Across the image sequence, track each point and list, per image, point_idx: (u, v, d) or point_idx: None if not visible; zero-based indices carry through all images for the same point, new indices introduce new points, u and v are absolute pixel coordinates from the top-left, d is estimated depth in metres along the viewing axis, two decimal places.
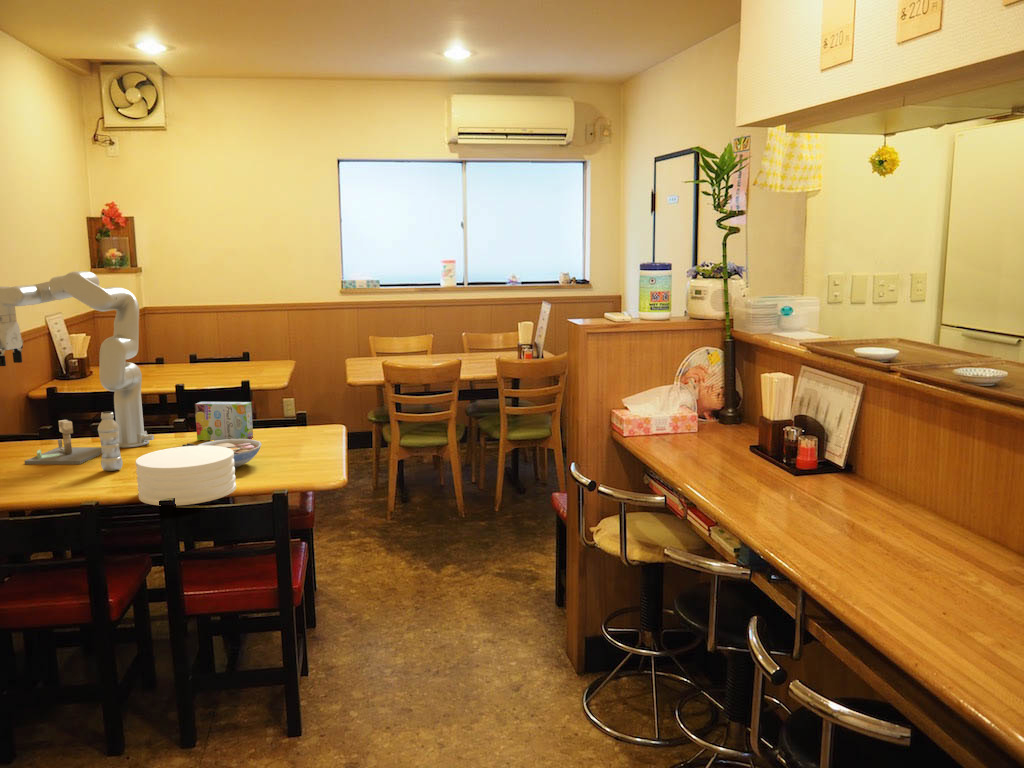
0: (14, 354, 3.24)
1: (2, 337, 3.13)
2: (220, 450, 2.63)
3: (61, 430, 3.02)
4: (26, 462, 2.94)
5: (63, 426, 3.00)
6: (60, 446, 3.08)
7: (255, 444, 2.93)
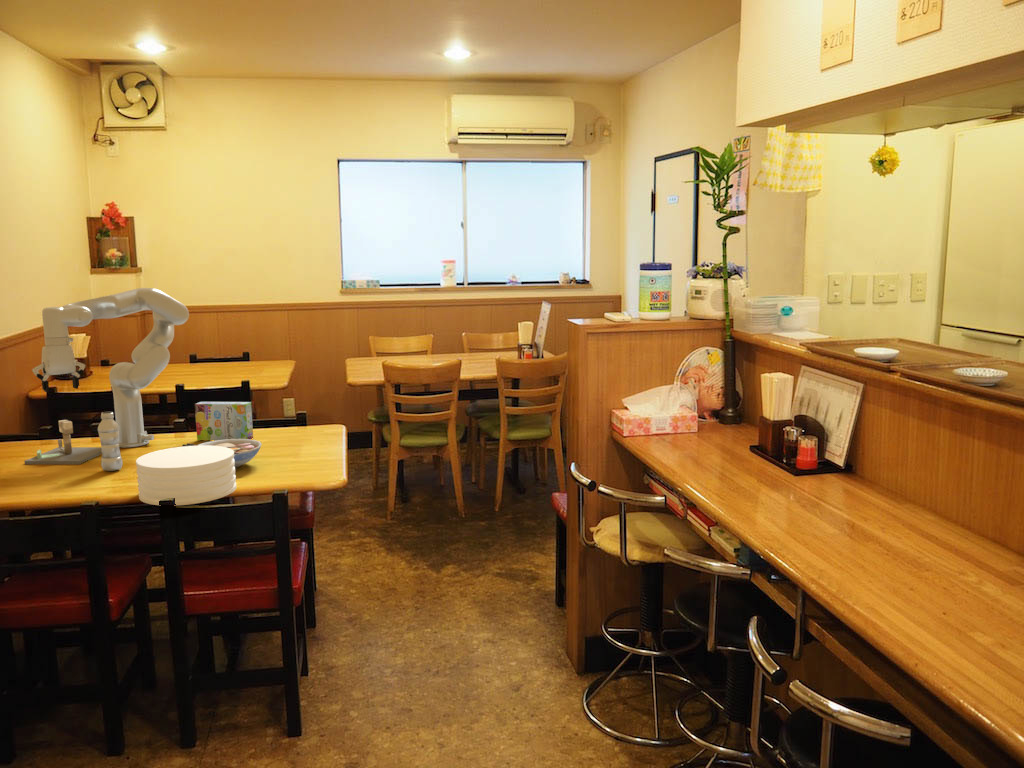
0: None
1: None
2: (220, 450, 2.63)
3: (61, 430, 3.02)
4: (26, 462, 2.94)
5: (63, 426, 3.00)
6: (60, 446, 3.08)
7: (255, 444, 2.93)
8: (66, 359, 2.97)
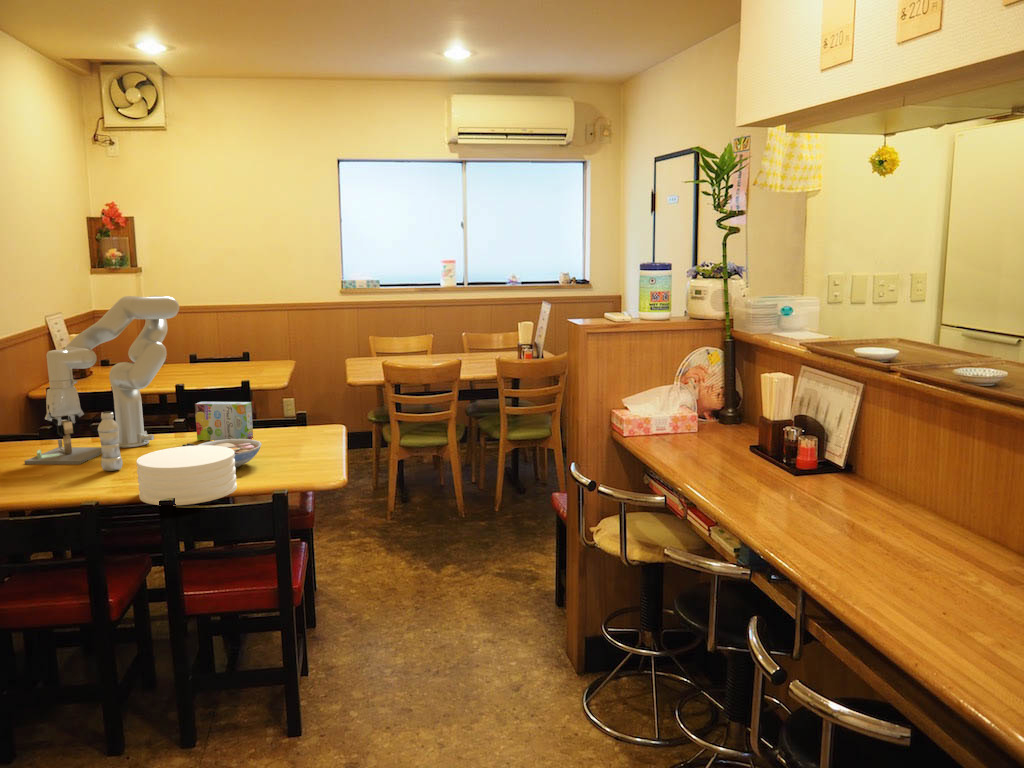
0: None
1: None
2: (221, 450, 2.64)
3: None
4: (26, 462, 2.94)
5: (63, 426, 3.00)
6: (60, 446, 3.08)
7: (255, 444, 2.93)
8: (71, 401, 3.00)
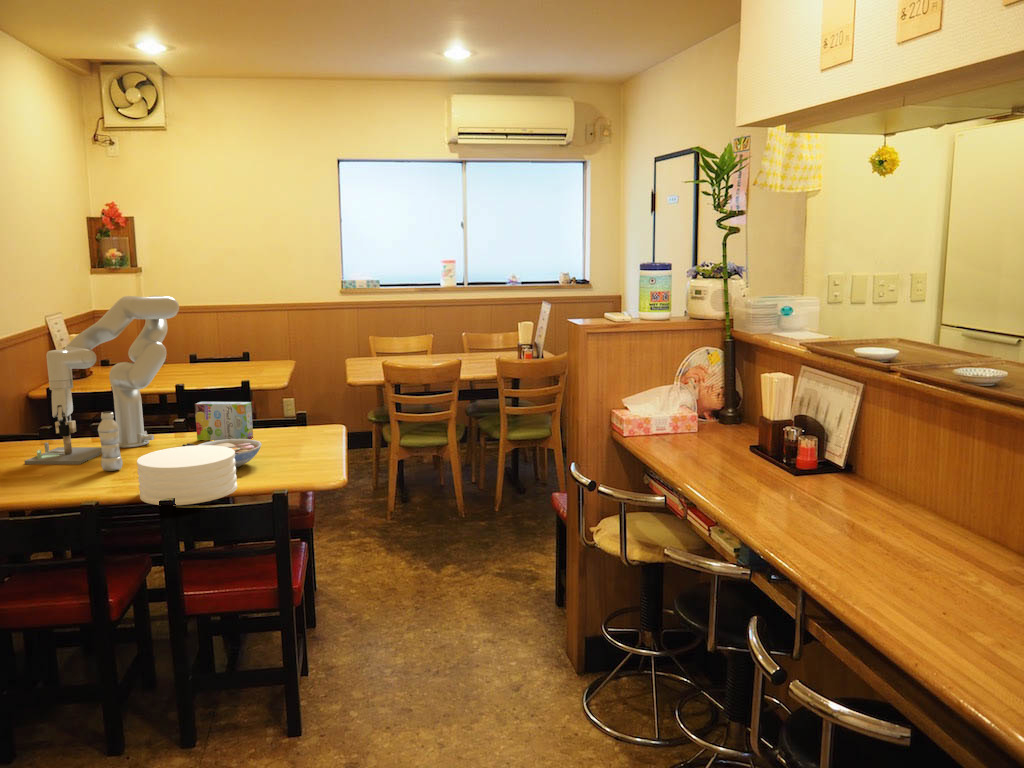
0: None
1: None
2: (221, 450, 2.64)
3: None
4: (26, 462, 2.94)
5: None
6: (48, 449, 3.03)
7: (255, 444, 2.93)
8: (71, 400, 3.03)
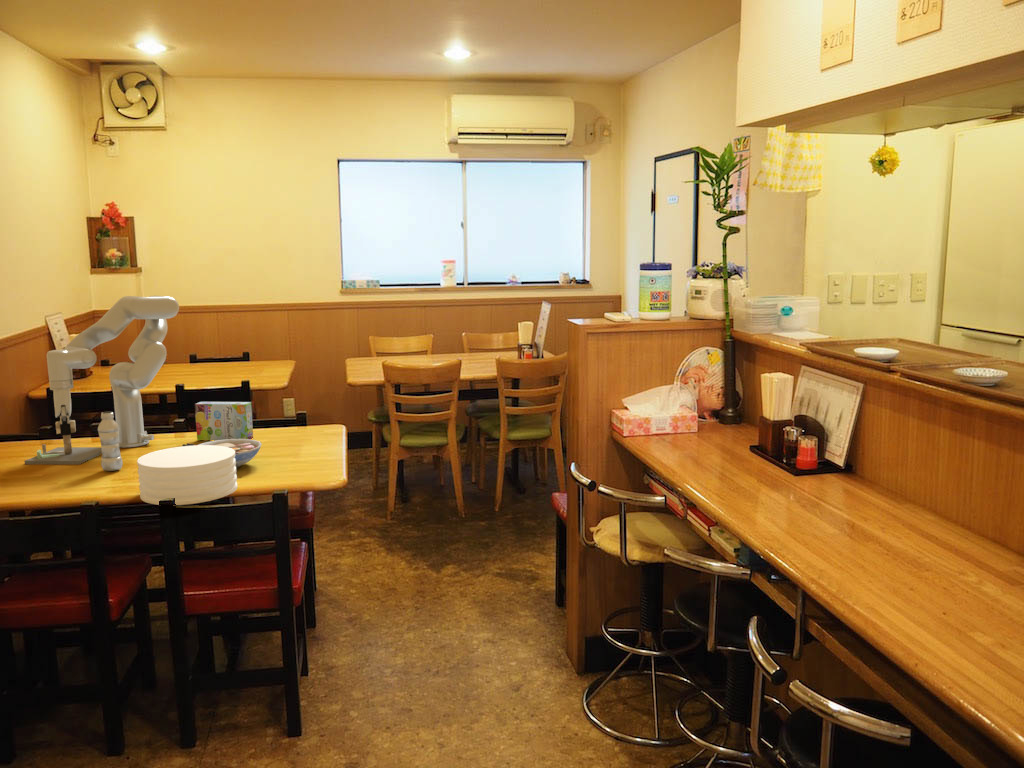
0: None
1: None
2: (221, 450, 2.64)
3: None
4: (26, 462, 2.94)
5: (70, 425, 3.01)
6: None
7: (255, 444, 2.93)
8: None
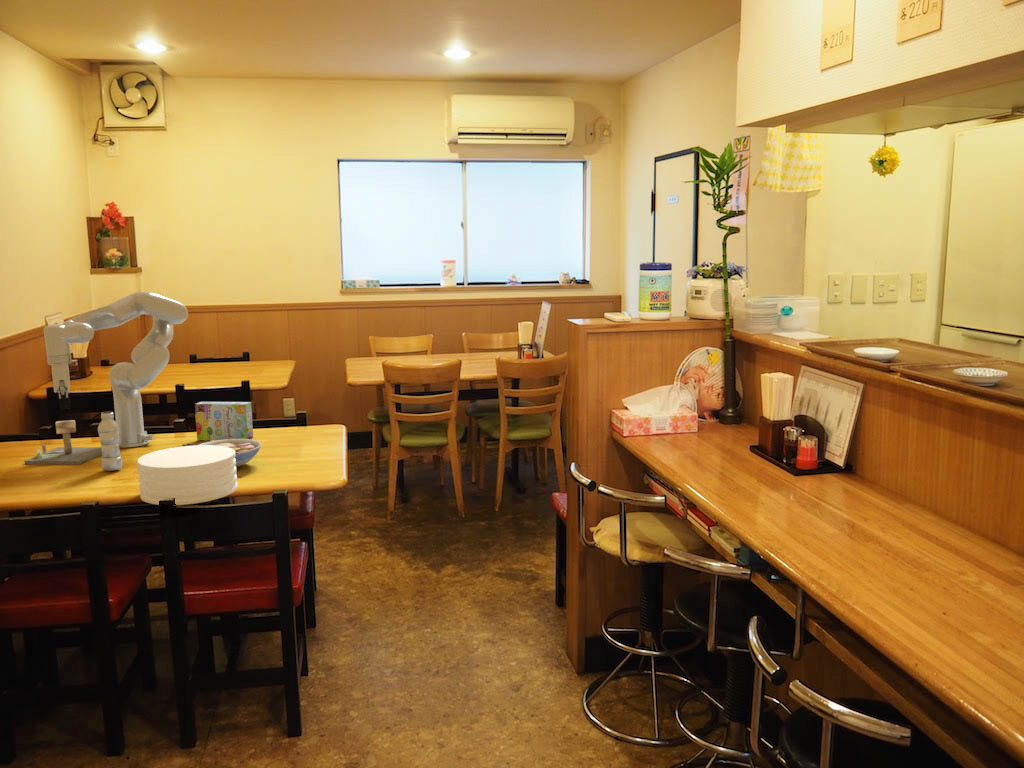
0: None
1: None
2: (221, 450, 2.64)
3: (62, 431, 3.01)
4: (26, 462, 2.94)
5: (70, 425, 3.01)
6: None
7: (255, 444, 2.93)
8: None
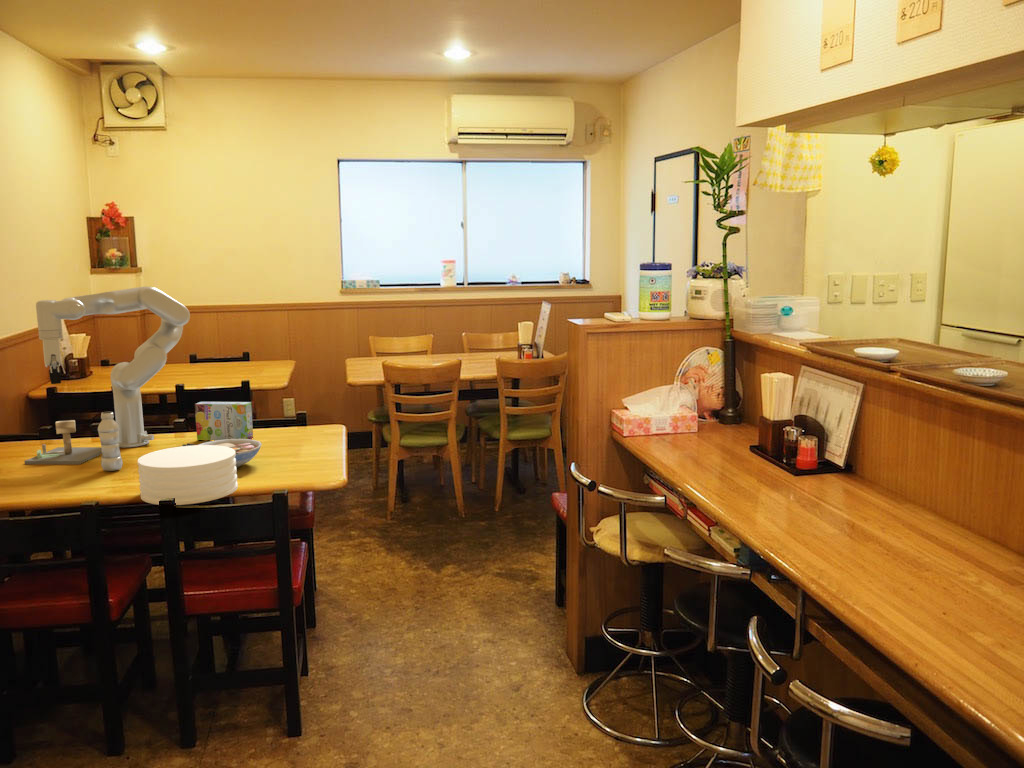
0: None
1: None
2: (222, 450, 2.64)
3: (62, 431, 3.01)
4: (26, 462, 2.94)
5: (70, 425, 3.01)
6: None
7: (255, 444, 2.93)
8: None
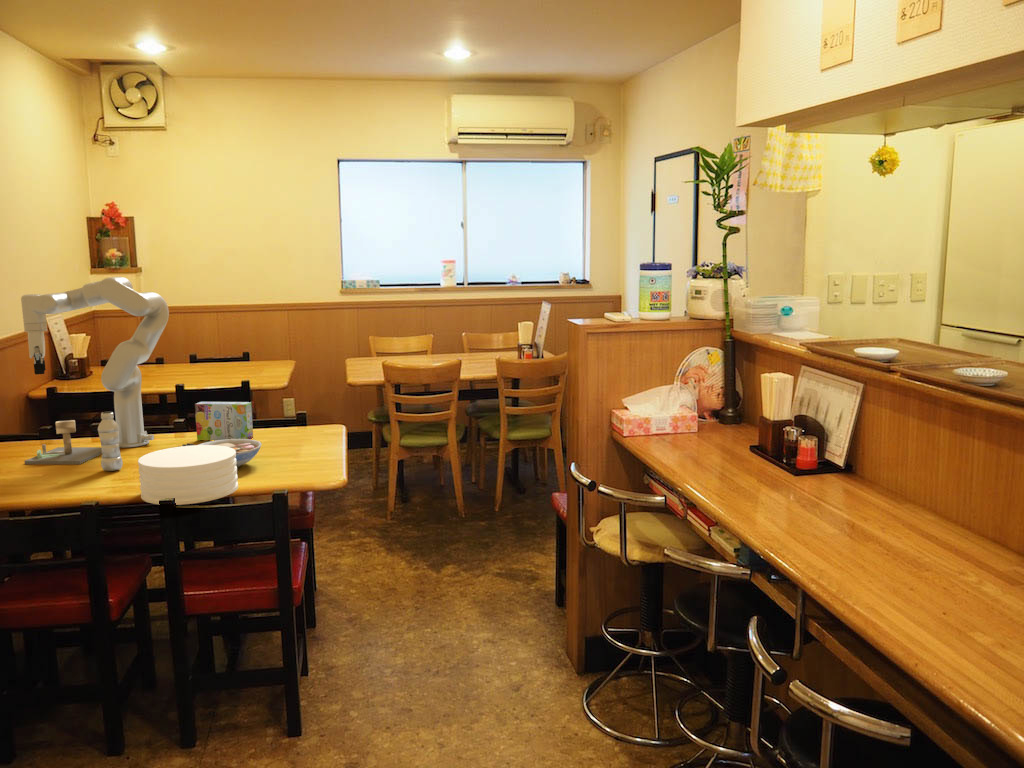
0: None
1: None
2: (222, 449, 2.64)
3: (62, 431, 3.01)
4: (26, 462, 2.94)
5: (70, 425, 3.01)
6: None
7: (255, 444, 2.93)
8: None
